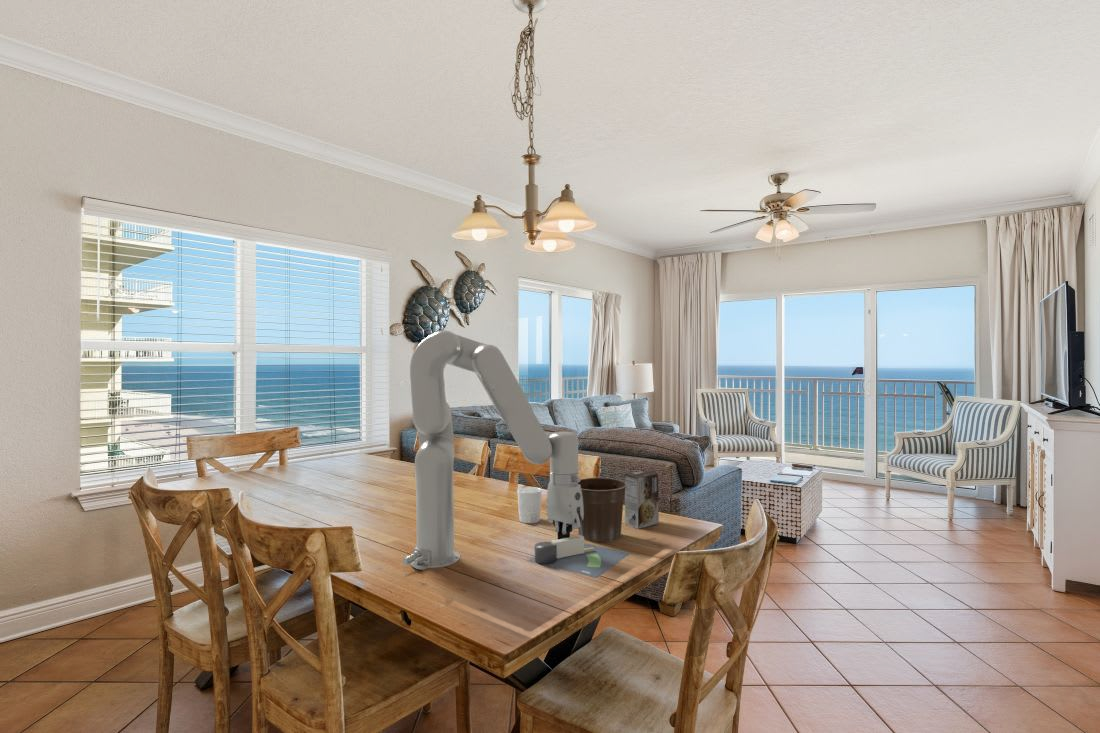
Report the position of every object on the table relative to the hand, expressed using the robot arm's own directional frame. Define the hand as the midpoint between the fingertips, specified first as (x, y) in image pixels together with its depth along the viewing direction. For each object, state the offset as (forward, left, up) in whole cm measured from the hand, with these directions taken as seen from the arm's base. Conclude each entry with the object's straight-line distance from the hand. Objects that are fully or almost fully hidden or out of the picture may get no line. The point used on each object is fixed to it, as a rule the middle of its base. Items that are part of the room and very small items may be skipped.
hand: (563, 546), depth 145 cm
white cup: (+20, +26, -3) cm, 33 cm away
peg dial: (-3, -2, -1) cm, 4 cm away
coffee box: (+36, -6, -3) cm, 37 cm away
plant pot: (+17, -1, -3) cm, 17 cm away
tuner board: (-1, -5, -2) cm, 6 cm away
